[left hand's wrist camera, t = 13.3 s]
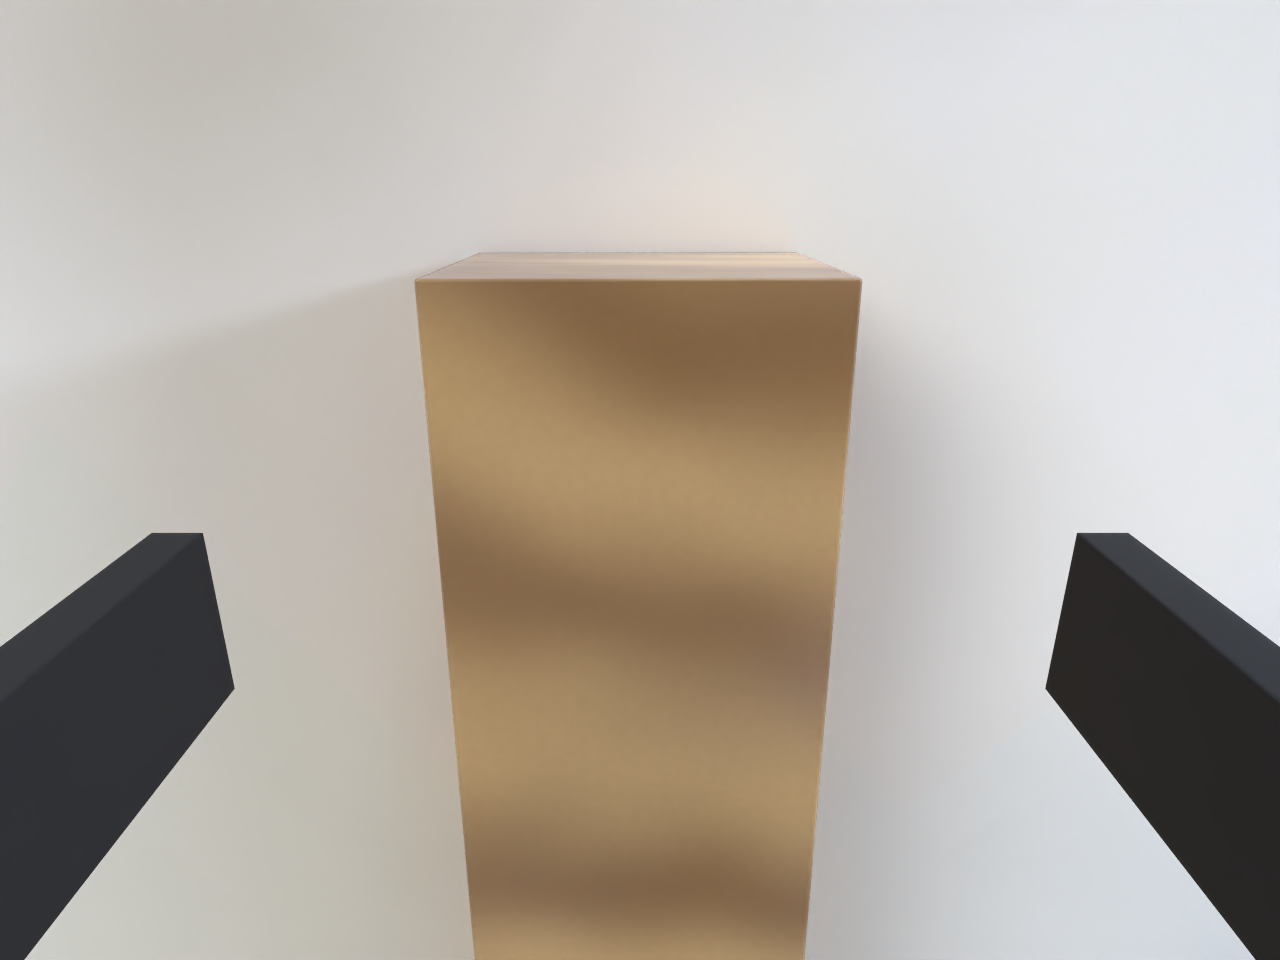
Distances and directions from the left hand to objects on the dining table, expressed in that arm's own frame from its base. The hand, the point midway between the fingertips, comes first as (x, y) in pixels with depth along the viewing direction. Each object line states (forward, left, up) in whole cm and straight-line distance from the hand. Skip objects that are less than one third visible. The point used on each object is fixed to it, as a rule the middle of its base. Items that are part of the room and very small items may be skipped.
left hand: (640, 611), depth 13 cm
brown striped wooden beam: (+23, -10, -12) cm, 27 cm away
